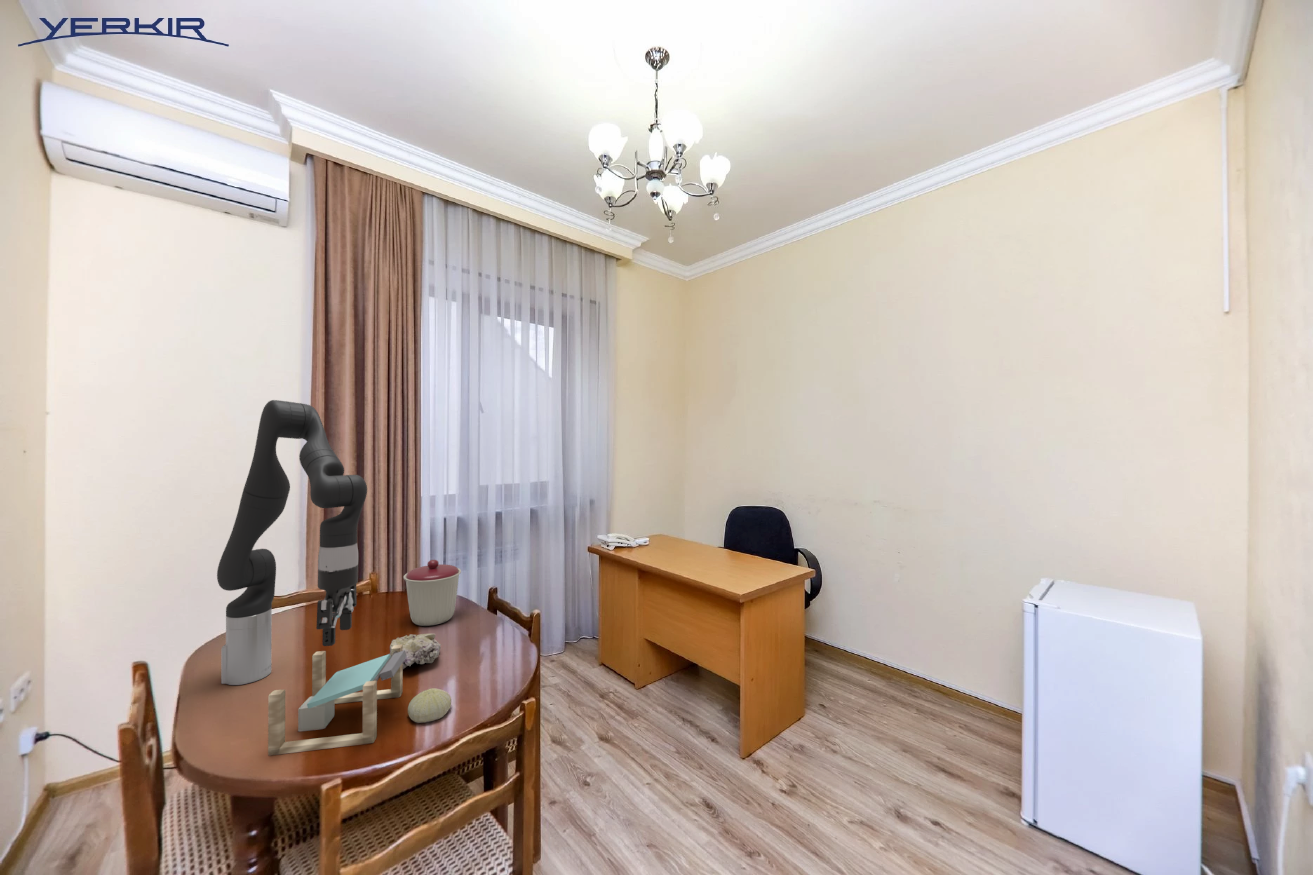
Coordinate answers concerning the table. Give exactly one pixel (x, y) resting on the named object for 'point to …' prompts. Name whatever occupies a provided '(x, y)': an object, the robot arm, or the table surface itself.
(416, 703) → the sea urchin shell
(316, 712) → the grey cube
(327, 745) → the frame
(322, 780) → the table surface
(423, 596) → the canister
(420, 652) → the geode
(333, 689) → the trapdoor
